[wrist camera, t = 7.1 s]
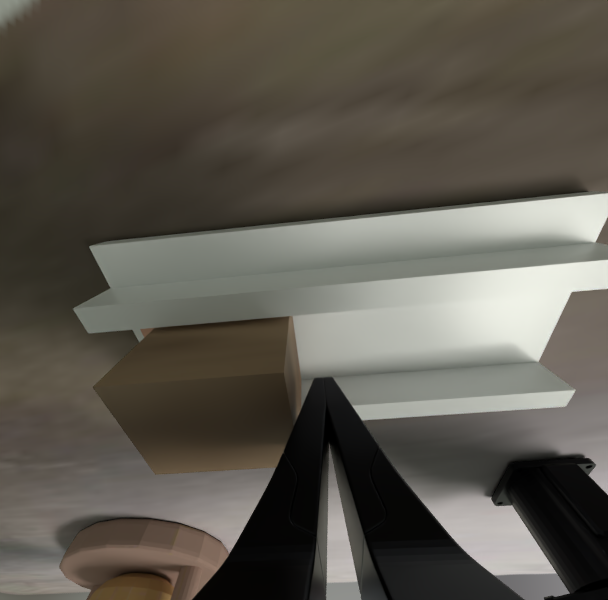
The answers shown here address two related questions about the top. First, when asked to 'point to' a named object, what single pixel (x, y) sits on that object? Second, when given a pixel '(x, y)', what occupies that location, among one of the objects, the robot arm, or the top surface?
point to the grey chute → (382, 296)
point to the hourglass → (142, 560)
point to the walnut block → (208, 395)
